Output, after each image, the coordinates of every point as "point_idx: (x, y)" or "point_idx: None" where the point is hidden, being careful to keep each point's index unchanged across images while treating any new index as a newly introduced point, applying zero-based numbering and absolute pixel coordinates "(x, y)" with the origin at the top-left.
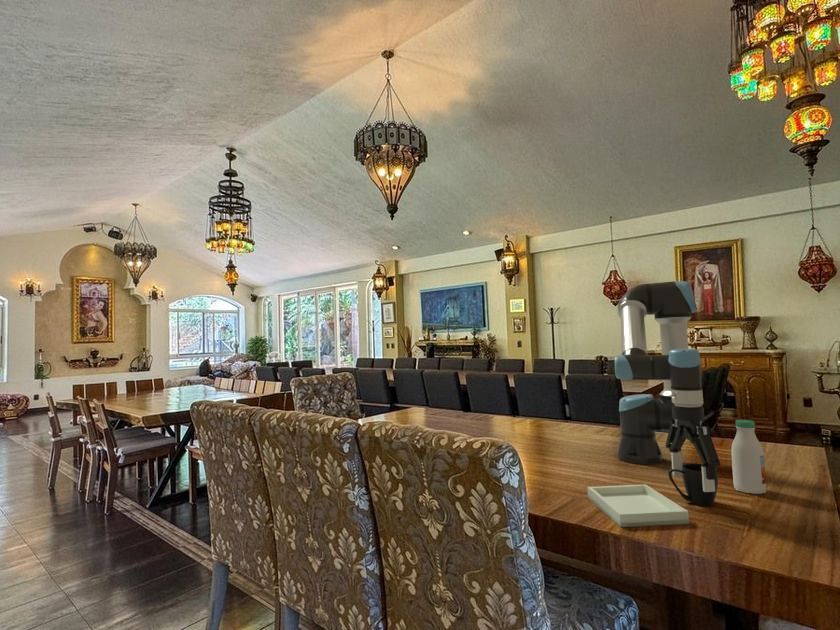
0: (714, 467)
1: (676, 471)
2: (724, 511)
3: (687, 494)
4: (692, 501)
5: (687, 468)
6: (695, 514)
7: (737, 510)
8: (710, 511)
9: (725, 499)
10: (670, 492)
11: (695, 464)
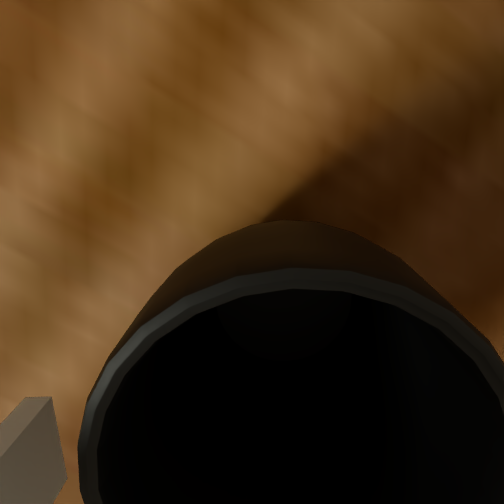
0: (333, 280)
1: (42, 489)
2: (455, 240)
3: (253, 396)
4: (302, 373)
5: (139, 494)
6: None
7: (452, 138)
8: None
9: (227, 85)
10: (76, 390)
11: (107, 428)
